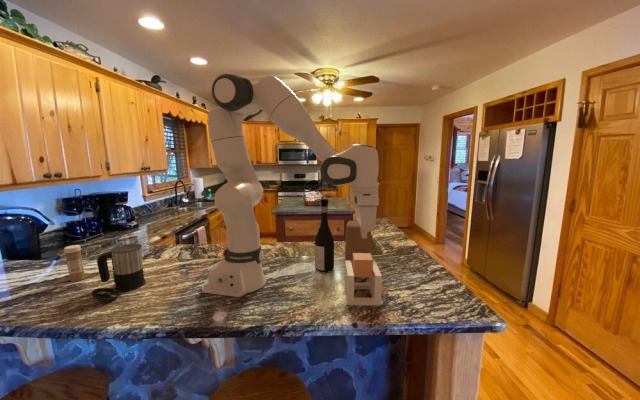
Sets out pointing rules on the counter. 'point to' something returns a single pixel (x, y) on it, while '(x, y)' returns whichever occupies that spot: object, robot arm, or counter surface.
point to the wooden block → (355, 241)
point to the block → (362, 265)
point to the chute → (363, 286)
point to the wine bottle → (324, 243)
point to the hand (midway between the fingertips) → (363, 237)
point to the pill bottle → (74, 262)
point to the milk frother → (120, 271)
